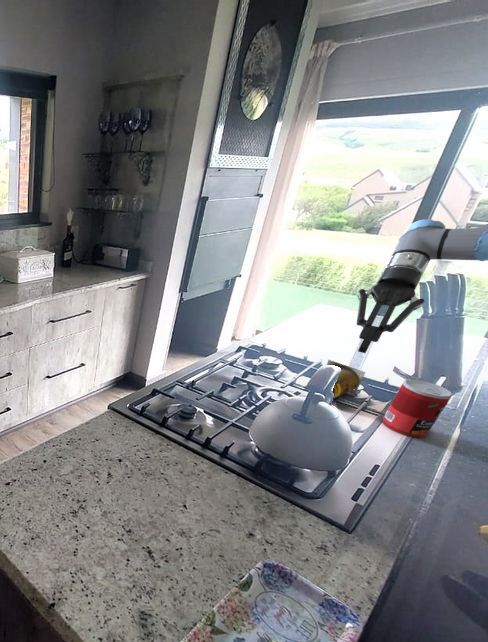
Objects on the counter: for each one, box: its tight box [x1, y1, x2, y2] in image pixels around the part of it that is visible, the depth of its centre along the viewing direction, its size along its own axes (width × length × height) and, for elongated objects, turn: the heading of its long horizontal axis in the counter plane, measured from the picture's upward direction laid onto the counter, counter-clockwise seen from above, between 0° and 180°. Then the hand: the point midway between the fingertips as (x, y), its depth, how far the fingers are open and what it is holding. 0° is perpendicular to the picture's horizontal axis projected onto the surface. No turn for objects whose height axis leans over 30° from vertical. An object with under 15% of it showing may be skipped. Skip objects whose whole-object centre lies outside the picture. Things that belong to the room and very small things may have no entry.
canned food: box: [382, 378, 453, 438], centre depth 92 cm, size 8×8×11 cm
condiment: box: [326, 359, 366, 399], centre depth 107 cm, size 7×8×12 cm
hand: (362, 349), depth 103 cm, fingers closed
